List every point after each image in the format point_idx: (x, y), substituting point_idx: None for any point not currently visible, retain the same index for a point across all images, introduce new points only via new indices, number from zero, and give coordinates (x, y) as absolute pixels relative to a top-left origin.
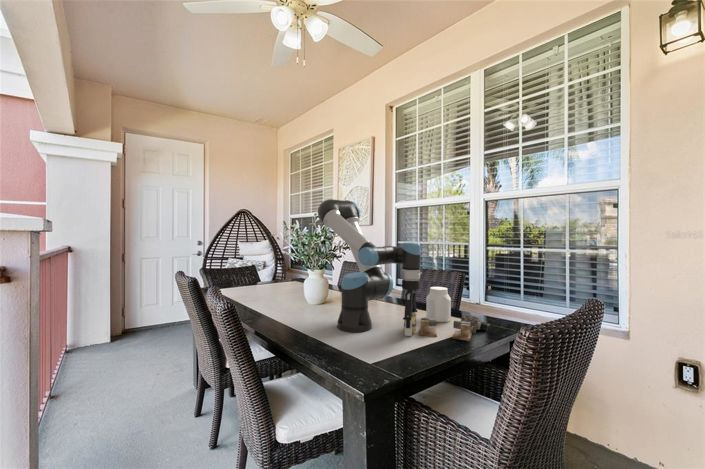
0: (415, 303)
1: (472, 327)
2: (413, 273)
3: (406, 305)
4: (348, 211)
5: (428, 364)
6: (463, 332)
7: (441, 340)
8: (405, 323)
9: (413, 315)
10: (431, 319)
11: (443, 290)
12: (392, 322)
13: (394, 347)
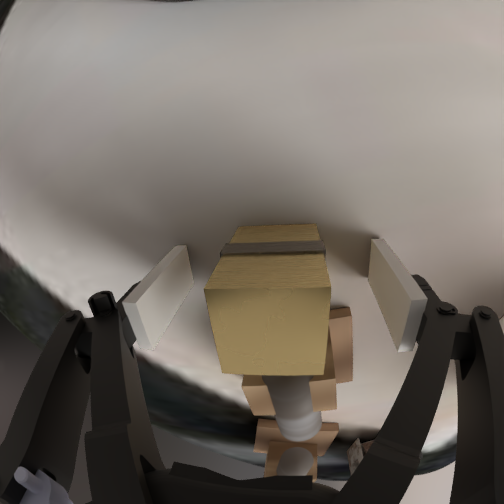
0: (458, 410)
1: (351, 463)
2: None
3: (30, 404)
4: None
5: (31, 336)
6: (267, 456)
7: (211, 392)
8: (139, 288)
9: (276, 360)
10: (287, 427)
11: None
12: (450, 101)
13: (38, 234)
